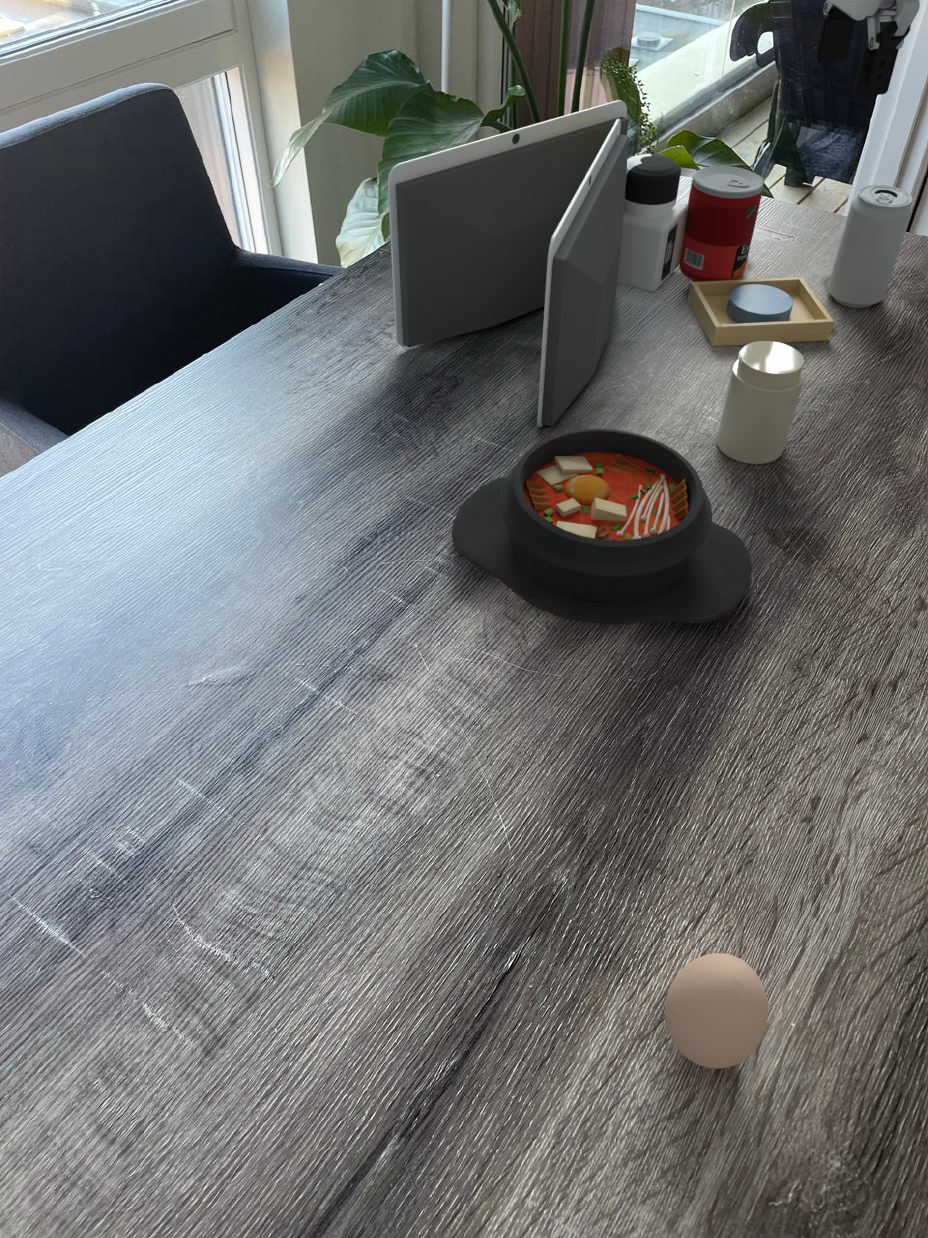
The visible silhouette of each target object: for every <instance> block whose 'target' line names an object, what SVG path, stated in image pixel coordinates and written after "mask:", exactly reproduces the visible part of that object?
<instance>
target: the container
mask: <svg viewBox="0 0 928 1238" xmlns="http://www.w3.org/2000/svg"><path fill="white" fill-rule="evenodd" d="M681 173H682V168H681V166H680V165H679V163H678V162H677V161H675V160H674V159H672V158H670V157H668V156H665V155H663V154H657V153H656V154H655V153H642V154H638V155H634V156H632V157H631V156H630V157H629V158H627V172H626V186H625V201H624V215H623V229H622V243H621V251H620V260H619V268H618V277H617V284H622V285H625V286H629V287H633V288H637V289H639V290H644V291H647V292H651V293H654V292H656V291H657V290H658V289H659V288H660V286H662V285H663V284H664V282H666V280H667V279H668V278H669V277H670V276H671V275H672V274H673V273H674V272H675V271H676V270H677V269H678V268H679V267H680V266H679V261H680V255H681V249H682V244H683V238H684V232H685V226H686V220H687V214H688V208H689V206H688V203H684V202H680V201H678V200H677V199H678V192H679V187H680V180H681Z"/></svg>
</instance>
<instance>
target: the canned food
mask: <svg viewBox="0 0 928 1238" xmlns="http://www.w3.org/2000/svg"><path fill="white" fill-rule="evenodd" d="M763 190H764V179H763V178H762V177H761V176H760V175H758V174H757V173H756V172H754V171H751V170H748V169H746V168H742V167H738V166H730V165H713V166H707V167H703V168H700V169H698V170H696V171H695V172H694V173H693V176H692V179H691V185H690V189H689V195H688V201H687V205H688V206H689V208H688V214H687V220H686V226H685V232H684V238H683V244H682V249H681V255H680V261H679V266H678V267H679V270H680V272H681V273H682V274H683V275H684V276H685V277H687V278H688V279H690V280H692V281H694V282H704V281H726V280H740V278H741V277H742V276H743V274H744V272H745V271H746V267H747V263H748V258H749V253H750V249H751V244H752V240H753V236H754V232H755V226H756V222H757V218H758V214H759V209H760V205H761V200H762V196H763V195H762V194H763Z"/></svg>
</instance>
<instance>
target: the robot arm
mask: <svg viewBox="0 0 928 1238" xmlns="http://www.w3.org/2000/svg"><path fill="white" fill-rule="evenodd" d="M920 8H921V3H920V0H826V1H825V2H824V4H823V10H822V11H823V15H824V16H823V18H822V23H821V27H820V32H819V37H818V41H817V46H816V51H815V54H814V60H815V61H816V62H817V63H835V62H845V61H846V60H847V59H848V56H849V52H850V48H851V44H852V40H853V35H854V31H855V27H856V22H857V21H863V20H864V19H867V20H866V21H867V36H868V39H867V41H868V46H864V47H862V51H861V56H860V60H859V64H858V68H857V73H856V77H855V80H854V84H853V89H852V93H853V94H854V95H855V96H856V97H863V96H864V97H866V96H879V95H881V96H882V95H886V94H887V93H888V91H889V88H890V84H891V81H892V77H893V73H894V69H895V65H896V62H897V59H898V54H899V50H901V49H902V48H903V46H904V43H905V38H906V37H907V36H908V35H909V33H910V31H911V27H912V23H913V22H914V19H915V18H916V16H917V15H918V13H919V10H920ZM883 22H885V23H886V22H887V23H886V25H885V26H883V28H882V29H881V23H883Z"/></svg>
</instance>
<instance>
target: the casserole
mask: <svg viewBox="0 0 928 1238" xmlns="http://www.w3.org/2000/svg"><path fill="white" fill-rule="evenodd" d="M703 487H704V486H703V482H702V479H701V478H700V475H699V473H698V471H697V470H696V469H695V468H694V467H693V465H692V464H691V463H690V461H689V460H687V458H685V457H684V456H683V455H682V454H681V453H680V452H678V451H677V450H675V449H674V448H671V447H670V446H669V445H667V444H665V443H664V442H661V441H658V440H656V439H653V438H651V437H649V436H646V435H642V434H639V433H636V432H631V431H626V430H620V429H614V428H613V429H612V428H584V429H583V428H582V429H576V430H570V431H565V432H562V433H558V434H556V435H553V436H550V437H547V438H545V439H544V440H542V441H540V442H537V443H535V444H534V446H532V447H531V448H529V449H528V450H527V451H526V452H525V453H524V454H523V455H522V456H521V458H520V459H519V460H518V461H517V464H516V465H515V466H514V467H513V468H512V469H511V471H510V472H509V473H508V474H507V476H502V477H497V478H495V479H493V480H492V481H489V482H487V483H486V484H483V485H482V486H480V487H479V488H477V489H476V490H475V491H474V492H473V493H471V494H470V495H469V496H468V497H467V498H466V499H465V501H464V502H463V503H462V504H461V505H460V507H459V508H458V510H457V512H456V515H455V516H454V519H453V522H452V529H451V538H452V545H453V548H454V549H455V551H456V552H457V553H458V554H459V556H460V557H461V558H462V559H464V560H465V561H467V562H468V563H470V564H472V565H473V566H474V567H477V568H479V569H481V570H483V571H484V572H486V573H488V574H490V575H492V576H494V577H495V578H496V579H498V581H500V582H501V583H503V585H505V587H507V588H508V589H510V590H511V591H512V592H513V593H514V594H516V595H517V596H518V597H520V598H521V600H523V601H524V602H526V603H528V604H529V605H532V606H534V607H536V608H537V609H540V611H542V612H546V613H547V614H551V615H554V616H556V617H559V618H562V619H564V620H570V621H574V622H579V623H583V624H590V625H605V626H616V625H629V624H630V625H631V624H642V623H654V622H667V623H669V622H670V623H688V624H689V623H690V624H707V623H710V622H715V621H718V620H721V619H722V618H723V617H725V616H727V615H728V614H730V613H731V612H732V611H733V610H734V609H736V607H737V606H739V603H740V602H741V601H742V600H743V599H744V597H745V595H746V593H747V591H748V589H749V586H750V585H751V578H752V570H753V569H752V561H751V557H750V553H749V550H748V548H747V547H746V546H747V545H746V544H745V542H744V541H743V540H742V539H741V538H740V536H739V535H738V534H736V533H735V532H733V530H731V529H728V528H727V527H725V526H722V525H721V524H718V523H716V522H714V521H713V509H712V504H711V501H710V499H709V497H708V494H707V492H706V490H705V488H703Z"/></svg>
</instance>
